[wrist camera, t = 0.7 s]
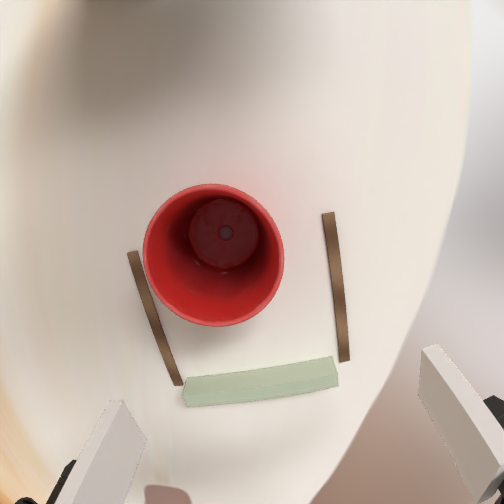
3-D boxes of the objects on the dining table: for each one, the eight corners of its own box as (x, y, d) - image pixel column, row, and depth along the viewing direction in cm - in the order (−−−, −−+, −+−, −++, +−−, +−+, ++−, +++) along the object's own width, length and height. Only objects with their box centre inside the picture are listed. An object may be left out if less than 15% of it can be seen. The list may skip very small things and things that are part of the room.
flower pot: (288, 188, 31) (299, 199, 22) (266, 291, 34) (268, 338, 25) (182, 170, 31) (150, 174, 21) (169, 272, 34) (138, 312, 24)
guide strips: (128, 252, 33) (127, 253, 33) (333, 211, 31) (334, 212, 31) (174, 384, 38) (174, 385, 38) (349, 358, 36) (349, 360, 36)
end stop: (187, 377, 37) (181, 394, 34) (331, 356, 36) (337, 373, 33) (192, 389, 38) (187, 406, 35) (333, 368, 36) (338, 386, 33)
